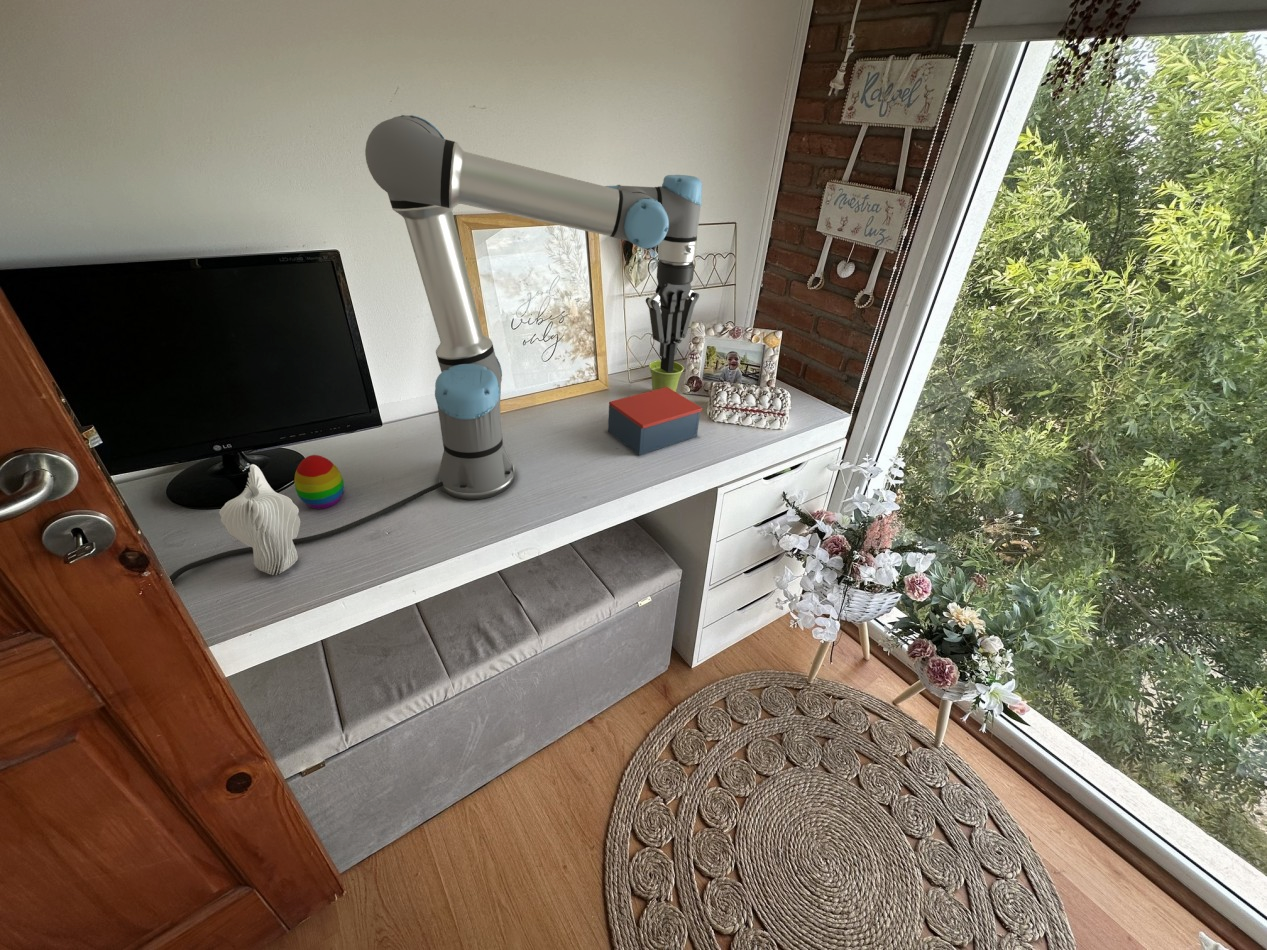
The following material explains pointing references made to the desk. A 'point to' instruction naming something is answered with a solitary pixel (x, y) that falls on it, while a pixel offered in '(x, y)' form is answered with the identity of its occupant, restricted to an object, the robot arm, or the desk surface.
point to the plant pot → (665, 376)
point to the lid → (655, 407)
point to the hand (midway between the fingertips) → (666, 369)
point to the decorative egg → (318, 482)
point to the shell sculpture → (264, 523)
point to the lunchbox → (651, 431)
